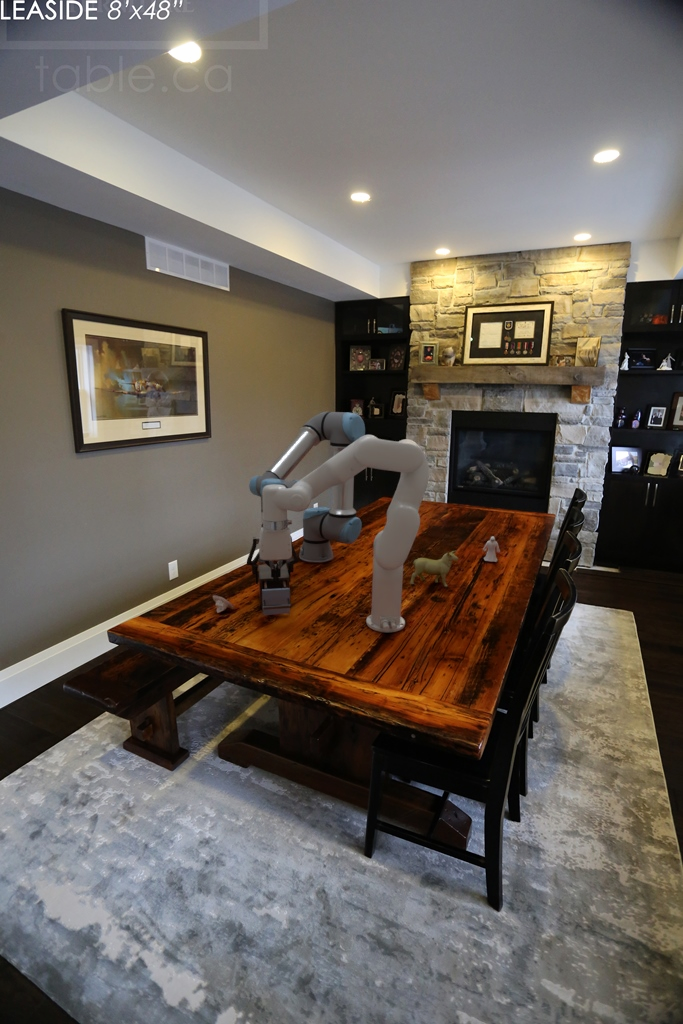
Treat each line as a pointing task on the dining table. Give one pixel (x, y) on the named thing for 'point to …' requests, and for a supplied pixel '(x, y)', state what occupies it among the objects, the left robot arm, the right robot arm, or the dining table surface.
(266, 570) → the cabinet
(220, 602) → the seashell
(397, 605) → the right robot arm
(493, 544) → the figurine
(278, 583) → the drawer
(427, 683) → the dining table surface
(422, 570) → the toy
